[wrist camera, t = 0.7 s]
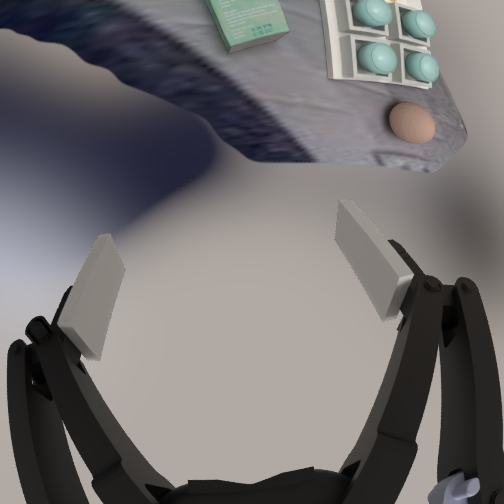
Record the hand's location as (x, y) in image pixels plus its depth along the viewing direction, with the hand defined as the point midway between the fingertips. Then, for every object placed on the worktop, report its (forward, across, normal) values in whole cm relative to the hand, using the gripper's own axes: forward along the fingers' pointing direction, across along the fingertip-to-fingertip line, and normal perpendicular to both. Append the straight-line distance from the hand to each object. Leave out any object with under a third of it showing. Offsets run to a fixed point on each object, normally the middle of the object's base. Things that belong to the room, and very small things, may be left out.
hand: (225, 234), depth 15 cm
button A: (+21, +21, +18) cm, 35 cm away
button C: (+21, +29, +19) cm, 40 cm away
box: (+27, +4, +19) cm, 33 cm away
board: (+26, +25, +18) cm, 41 cm away
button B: (+21, +21, +11) cm, 32 cm away
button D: (+21, +29, +12) cm, 38 cm away
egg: (+26, +29, +2) cm, 39 cm away
